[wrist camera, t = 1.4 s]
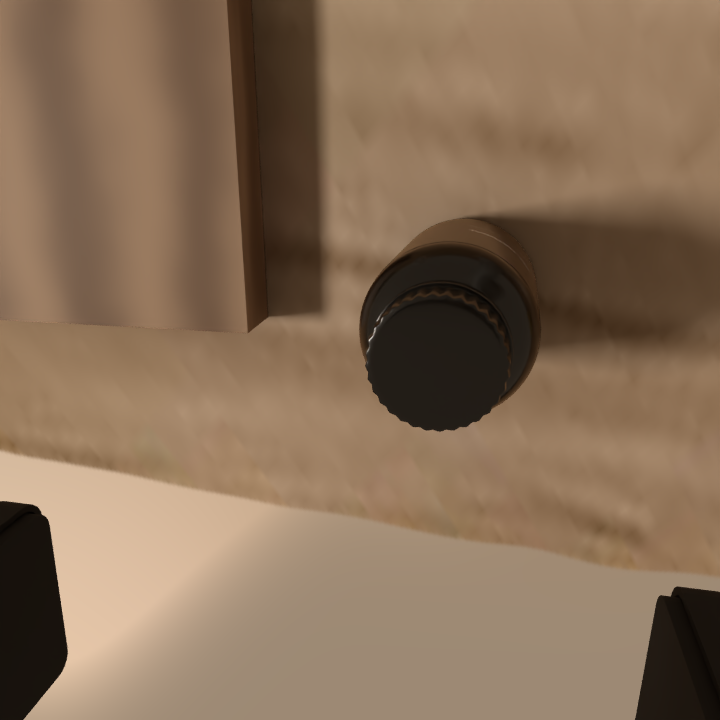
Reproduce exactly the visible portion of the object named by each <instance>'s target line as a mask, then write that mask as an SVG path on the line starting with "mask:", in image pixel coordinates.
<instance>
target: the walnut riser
mask: <svg viewBox="0 0 720 720" xmlns="http://www.w3.org/2000/svg"><path fill="white" fill-rule="evenodd" d="M267 317H268V307H267V288H266V269H265V250H264V231H263V212H262V193H261V174H260V155H259V136H258V117H257V98H256V79H255V60H254V41H253V22H252V3H251V0H0V320H11V321H30V322H49V323H67V324H86V325H105V326H123V327H142V328H161V329H179V330H198V331H216V332H235V333H249V332H250V331H251V330H252V329H254V328H255V327H256V326H257V325H259V324H260V323H261V322H262V321H264V320H265V319H266V318H267Z"/></svg>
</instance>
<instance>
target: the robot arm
mask: <svg viewBox="0 0 720 720" xmlns="http://www.w3.org/2000/svg"><path fill="white" fill-rule="evenodd" d="M67 654H68V650H67V642H66V635H65V628H64V621H63V615H62V607H61V601H60V594H59V587H58V580H57V573H56V566H55V560H54V553H53V546H52V539H51V532H50V525H49V521H48V519H47V518H46V517H45V516H43V515H42V514H41V511H40V510H39V508H38V507H37V506H34V505H31V504H22V503H14V502H7V501H0V720H23V719H24V718H25V717H26V716H27V715H28V713H29V712H30V711H31V710H32V708H33V707H34V706H35V705H36V704H37V702H38V701H39V700H40V698H41V697H42V696H43V695H44V694H45V693H46V691H47V690H48V689H49V688H50V686H51V685H52V684H53V683H54V681H55V680H56V679H57V678H58V677H59V675H60V674H61V672H62V671H63V668H64V666H65V663H66V660H67ZM635 720H720V592H716V591H709V590H701V589H692V588H685V587H675V588H674V590H673V592H672V595H671V597H669V596H662V595H661V596H659V597H658V599H657V603H656V608H655V614H654V619H653V624H652V630H651V636H650V641H649V647H648V652H647V658H646V664H645V669H644V674H643V680H642V685H641V691H640V696H639V702H638V707H637V713H636V718H635Z"/></svg>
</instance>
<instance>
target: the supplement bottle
mask: <svg viewBox="0 0 720 720" xmlns="http://www.w3.org/2000/svg"><path fill="white" fill-rule="evenodd" d="M540 333H541V326H540V313H539V303H538V292H537V283H536V277H535V273H534V269H533V266H532V263H531V261H530V259H529V257H528V255H527V253H526V252H525V250H524V249H523V247H522V246H521V245H520V244H519V242H518V241H517V240H516V239H515V238H514V237H513V236H511V235H510V234H509V233H508V232H506V231H505V230H503V229H502V228H500V227H498V226H496V225H494V224H491V223H489V222H485V221H482V220H477V219H453V220H448V221H444V222H441V223H438V224H436V225H434V226H431V227H430V228H428V229H426V230H425V231H423V232H422V233H420V234H419V235H418V236H417V237H415V238H414V239H413V240H412V241H411V242H410V243H409V244H408V245H407V246H406V247H405V248H404V249H403V250H402V251H401V252H400V253H399V254H398V255H397V256H396V257H395V258H394V259H393V260H392V261H391V262H390V263H389V264H388V265H387V266H386V267H385V268H384V269H383V270H382V271H381V273H380V274H379V275H378V277H377V278H376V279H375V281H374V282H373V284H372V286H371V287H370V289H369V291H368V293H367V295H366V297H365V300H364V303H363V306H362V310H361V315H360V324H359V334H360V343H361V348H362V352H363V356H364V359H365V361H366V365H365V367H366V369H367V371H368V380H369V382H370V383H371V384H372V390H373V392H374V393H375V394H376V395H377V396H378V398H379V401H380V403H381V404H383V405H385V406H386V407H387V409H388V411H389V412H390V413H392V414H394V415H396V416H397V417H398V418H399V420H400V421H404V422H408V423H409V424H410V425H411V426H412V427H421V428H422V429H424V430H436V431H439V432H440V431H444V430H446V429H447V430H455V429H457V428H459V427H467V426H468V425H470V424H471V423H472V422H477V421H479V420H480V419H481V418H482V416H483V415H485V414H488V413H490V411H491V409H493V408H494V407H496V406H498V405H500V404H501V403H503V402H504V401H505V400H507V399H508V398H509V397H510V396H512V395H513V394H514V393H515V392H516V391H517V390H518V389H519V388H520V386H521V385H522V384H523V383H524V381H525V380H526V378H527V377H528V375H529V373H530V371H531V369H532V367H533V365H534V363H535V360H536V357H537V353H538V349H539V343H540Z"/></svg>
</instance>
